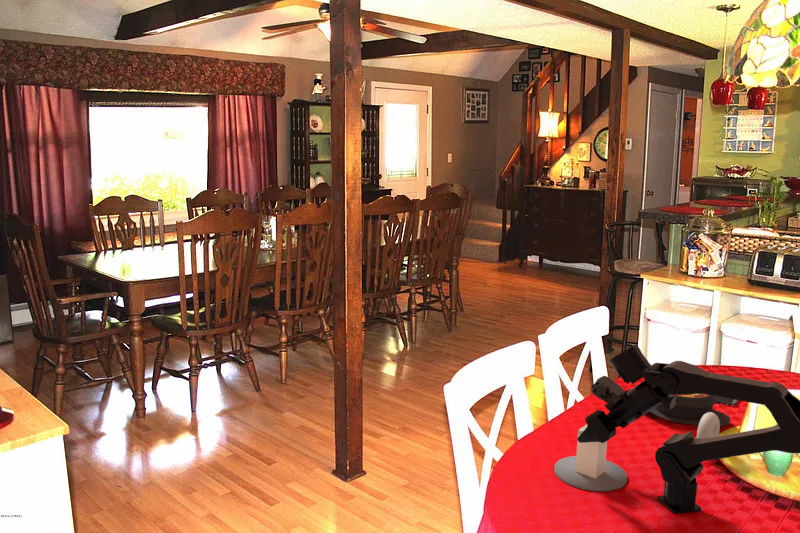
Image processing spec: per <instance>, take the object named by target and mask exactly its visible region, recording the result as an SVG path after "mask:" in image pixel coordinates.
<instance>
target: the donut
mask: <svg viewBox="0 0 800 533" xmlns="http://www.w3.org/2000/svg"><path fill="white" fill-rule="evenodd" d="M720 428H721V427H720V422H719V418H718V416H717V415H716V414H714V413H712V412H708V413H706V414H704V415H703V417H702V418H701V420H700V422H699V425H697V430H696V432H697V433H696V438H699V439H706V438H712V437H717V436H720Z"/></svg>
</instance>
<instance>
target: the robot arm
mask: <svg viewBox="0 0 800 533" xmlns="http://www.w3.org/2000/svg"><path fill="white" fill-rule="evenodd" d="M609 363H610V365H611V366H612V367H613V369H615V371H616V373H617V374H618V375H619V376H620V379H622V380H623V382H624V383H626V384H627V385H628V384H630V383H631V385H634V384H635V383H637V382H639V381H640V380H642V379H643V381H641V382H639V383H638V384H636V386H634V387H632V388H628V389H626V390H625V389H624V388H623V387H622V386H621V385H620V384H618V383H617V382H616V381H614V380H613V379H611V378H610V377H609V376H607V375H603V376H600V377H598V378H596V381H595V383H594V384H592V385H591V387H590V388H591V389H590V392H591V394H592V395H594V396H595V397H597V398H598V399H599V400H601V401H603V402H605V403H606V404H604V407H605V409H606V410H607V411H608V413H607V414H606V412H605V411H604V410H601V409H597V410H595V411H593V412H592V413H591V414H589V415H587V416H586V417H585V418H584V420H585V424H586V425H587V427H586V429H585V430H584V431H583V432H582V433H581V435H580V436H579V437H578V436H577V440H578V441H579V442H580V443H585V442H601V443H604V442H606V441H607V442H608V441H609V440H611V439H612V438H614V437H615V436H616V435H617V428H618V427H619V428H620V427H621V429H625V428H626V427H627V426H628V425H630V424H632V423H634V422H636V421H637V420H639V419H640V418H642V417H643V416H644V415H646V414H647V413H650V412H649V411H651V410H652V409H654V408H655V407H657V406H658V405H660V404H663V405H664V407H665V408H666V409H667V410H670V409H671V408H673V407H674V406H675V405H676V404H675V398H676V395H691V394H708V395H713V396H718V397H724V398H729V399H734V400H739V402H746V403H752V404H756V405H761V406H765V408H767V410H768V411H769V412H770V414H771V415H772V416H771V417H773V419H774V420H775V422H776V424H775V425H773V426H770V427H769V426H768V427H763V428H758V429H752V430H747V431H741V432H737V433H736V432H735V433H729V434H725V435H724V434H723V435H719V436H717V437H712V438H706V439H699V438H697V437H694V434H693V431H692V430H690V431H687V432H685V433H682V434H681V433H680V434H679V433H674V434H673V435H671V436H670V437H669V438H668V439H667V440H665V441H664V442H663V443H662V445H661V446H659V447H658V448H657V449H656V451H655V456H654V458H655V462H656V464H657V466H658V467H659V469H660V473H661V477H662V481H663V482H664V486H663V494H662V495H657V500H659V502H660V503H662V505H664V506H665V507H666V508H667V509H668V510H669V511H670V512H672V513H673V514H682V513H683V514H684V513H691V512H701V511H702V507H701V506H700V505H698V504H697V503H696V502H697V501H696V500H697V491H698V485H699V484H698V482H697V477H698V476H699V475H700V474H701V473H702V471H703V469H704V464H703V462H708V461H714V460H719V459H727V458H733V457H740V456H746V455H753V454H757V453H758V454H759V453H760V454H761V453H764V452H772V451H776V452H783V453H787V454H800V399H799V398H798V397H797V396H795V395H794V394H792V393H791V392H790V390H788V388H786V386H785V385H784V384H782V383H779V382H776V381H774V382H769V381H763V380H757V379H749V378H745V377H739V376H733V375H732V376H731V375H728V374H727V375H726V374H721V373H715V372H710V371H707V370H704V369H703V368H701V367H700V366H698V365H694V364H692V363H688V362H685V361H683V360H674V361H672V362H670V363H666V362H665V363H663V362H662V363H661V362H654V363H652V364H651V363H650V362H649V360H648V359H647V358H646V357H645V356H644V354H643V352H642V351H641V349H640V347H639V346H638V345H637V344H634V345H631V346H630V347H629V348H627V349H625V350H624V351H622V352H620V353H618V354H616V355H615V356H613V357H612V358H610V360H609Z"/></svg>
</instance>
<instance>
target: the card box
mask: <svg viewBox="0 0 800 533" xmlns="http://www.w3.org/2000/svg"><path fill="white" fill-rule="evenodd" d="M586 427H587V424H585V425H584V426H582V427H581V428H579V429H578V430H577V438H578V437H579V436H580V435H581V433H582V432H583V431H584V430H585V429H586ZM607 445H608V441H606V442H604V443H601V442H585V443H580V442H579V441H578V440H577V442H576V455H575V456H576V467H575V472H578V473H581V474H584V475H587V476H590V477H593V478H595V479H596V478H597V477H599V476H600V475H601V474H602V473H604V472H605V461H606V460H607V448H608V446H607Z"/></svg>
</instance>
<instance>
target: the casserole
mask: <svg viewBox="0 0 800 533" xmlns="http://www.w3.org/2000/svg"><path fill="white" fill-rule="evenodd" d="M716 402H717V400H716V398H715V397H714V396H713V395H708V394H691V395H676V398H675V404H676V405H675V406H674V407H673V408H671V409H670V410H667V409H666V408H665V407H664V405H663V404H660V405H658V406H657V407H655V408H654V409H652V410H651V411H649V412H648V413H651V414H652V415H654V416H656V417H658V418H661V419H664V420H666V421H669V422H671V423H676V424H681V425H688V426H689V425H690V426H691V425H694V426H699V422H700V420H701V418H702V417H703V415H704V414H706V413H708V412H712V413H714V414H716V415H717V416H718V418H719V422H720V428H721V427H725V426H727V425H729V424H730V423H731V421H732V419H731V418H730V416H729V415H727V414H726V413H724V412H722V411H719V410H716V409H714V408H713V407H714V405H715V404H717V403H718V402H717V403H716Z"/></svg>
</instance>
